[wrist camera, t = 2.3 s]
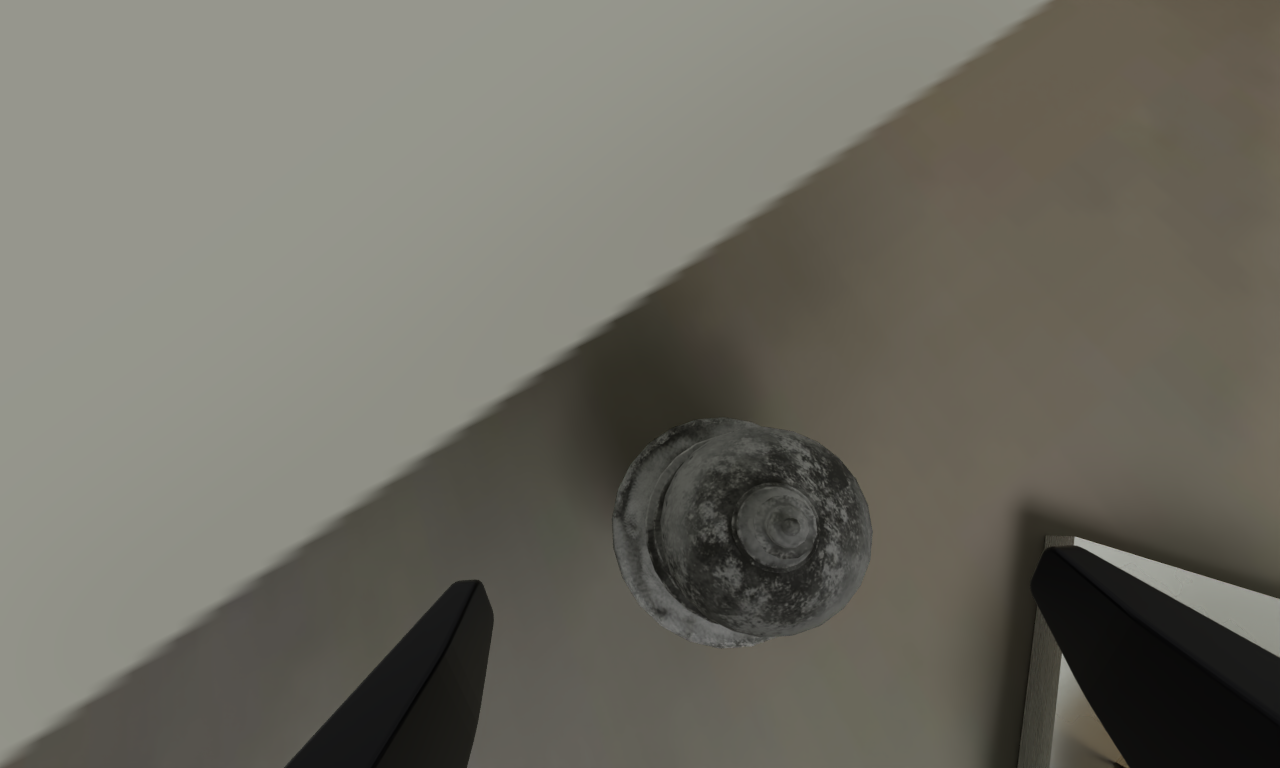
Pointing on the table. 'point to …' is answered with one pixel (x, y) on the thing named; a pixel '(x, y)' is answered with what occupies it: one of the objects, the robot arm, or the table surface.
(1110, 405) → the table surface
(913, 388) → the table surface
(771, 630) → the grey stone tall piece
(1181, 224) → the table surface
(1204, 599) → the socket plate
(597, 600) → the table surface
